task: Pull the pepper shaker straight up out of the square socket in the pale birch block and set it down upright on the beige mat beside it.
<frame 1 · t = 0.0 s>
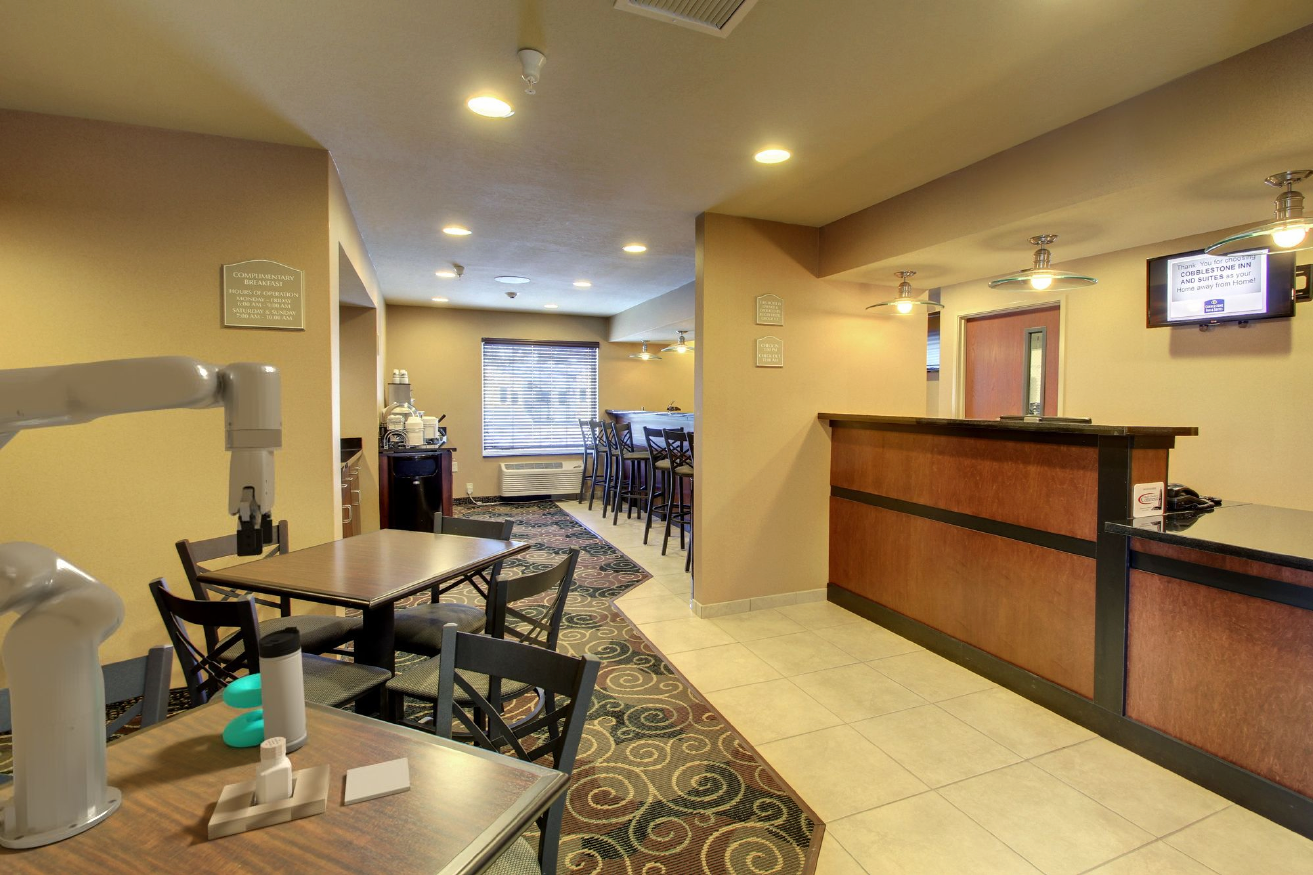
hand: (255, 549, 96), 37 cm above the table, tool pointing down, fingers open, 9 cm apart
socket block: (274, 805, 90), on the table
travel mug: (287, 746, 106), on the table
donuts: (256, 736, 110), on the table
beige mat: (378, 781, 96), on the table
pepper shaker: (274, 806, 90), resting in socket block
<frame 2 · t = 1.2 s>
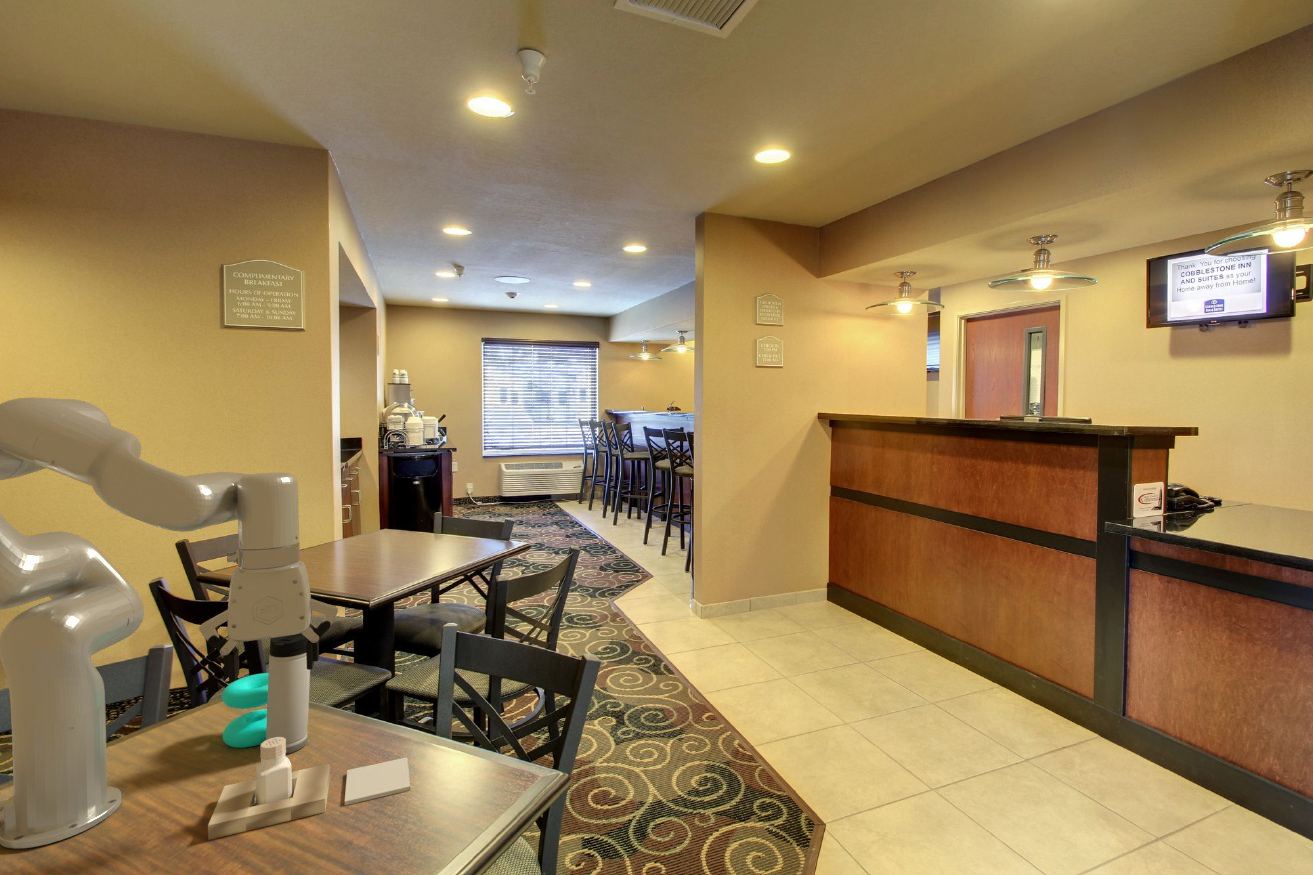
hand: (273, 672, 89), 20 cm above the table, tool pointing down, fingers open, 9 cm apart
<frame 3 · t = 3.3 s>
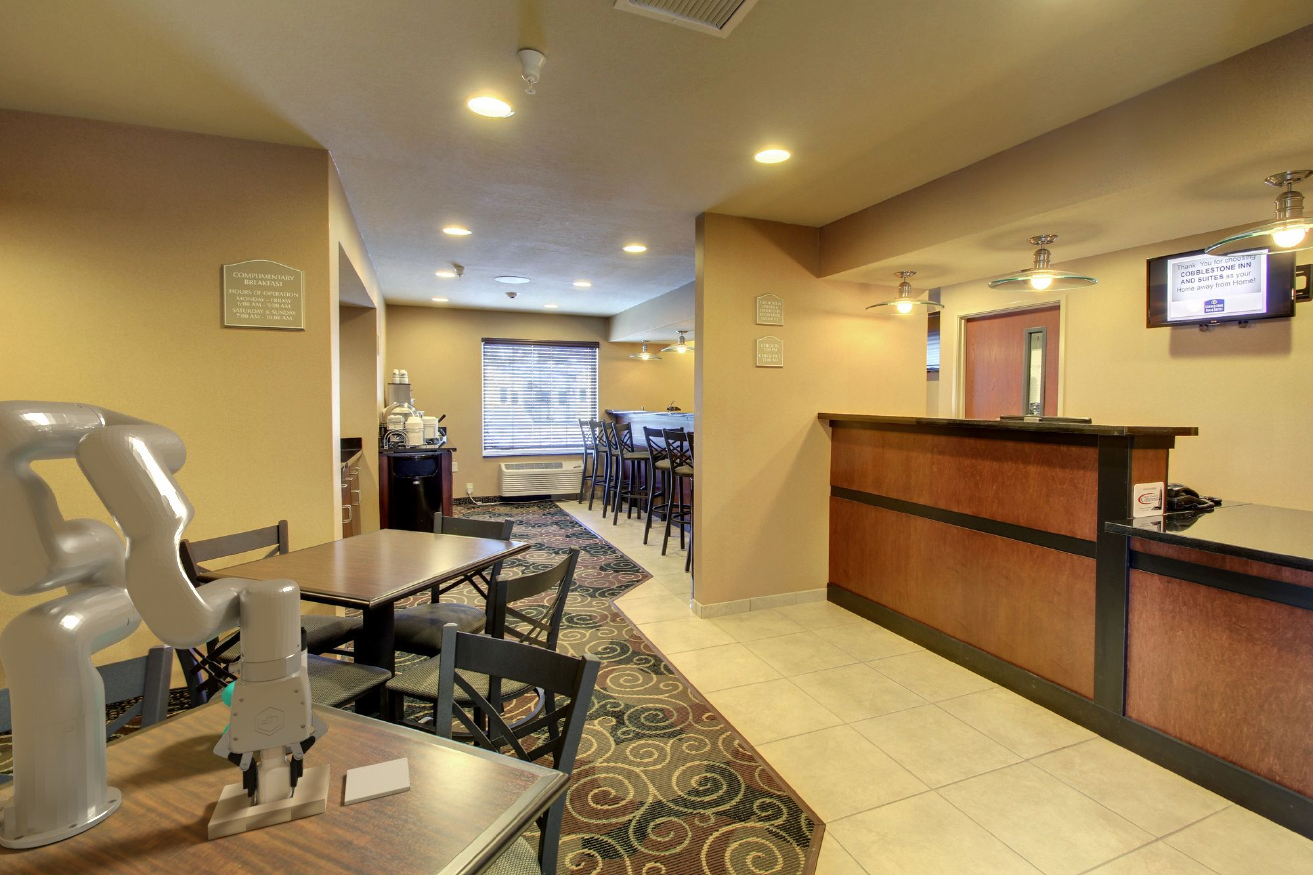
hand: (274, 785, 90), 3 cm above the table, tool pointing down, fingers closed on pepper shaker, 4 cm apart
pepper shaker: (274, 806, 90), resting in socket block, touching gripper
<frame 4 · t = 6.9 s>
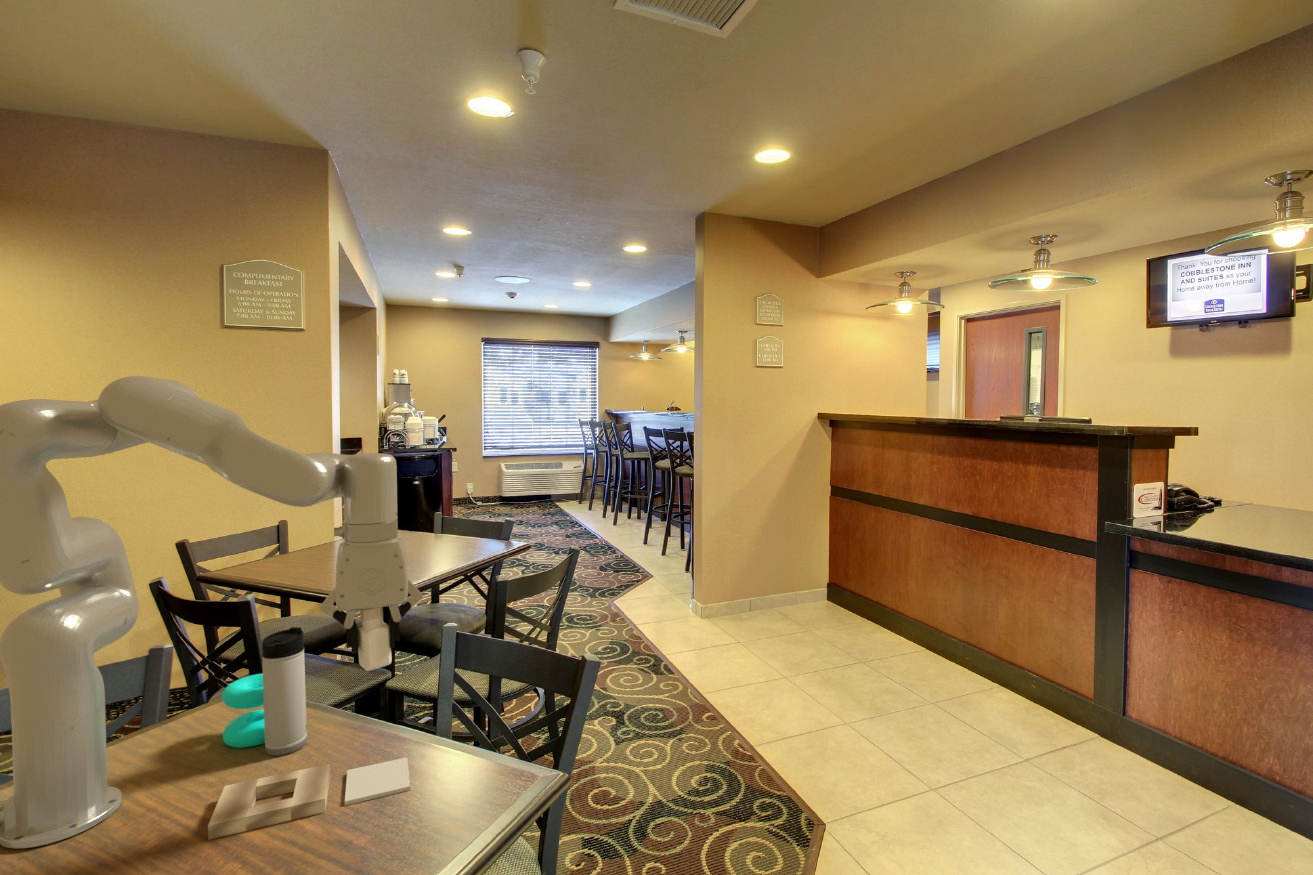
hand: (373, 646, 95), 22 cm above the table, tool pointing down, fingers closed on pepper shaker, 4 cm apart
pepper shaker: (375, 666, 95), point 18 cm above the table, touching gripper
everything else where it was.
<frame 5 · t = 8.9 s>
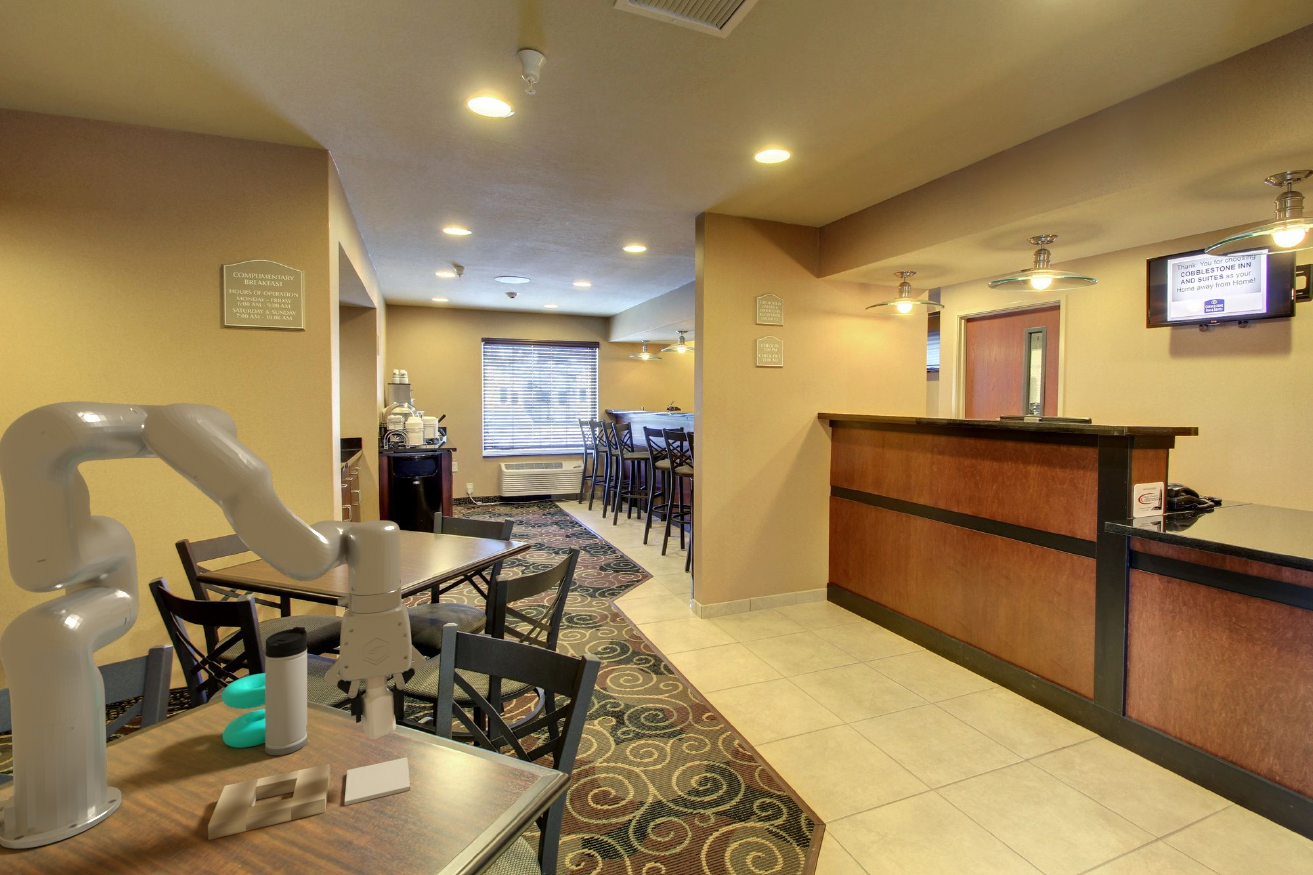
hand: (377, 714, 96), 11 cm above the table, tool pointing down, fingers closed on pepper shaker, 4 cm apart
pepper shaker: (380, 733, 96), point 8 cm above the table, touching gripper
everything else where it was.
when the fingers open (5 cm above the table, at t = 10.5 s): pepper shaker drops 1 cm, resting on beige mat.
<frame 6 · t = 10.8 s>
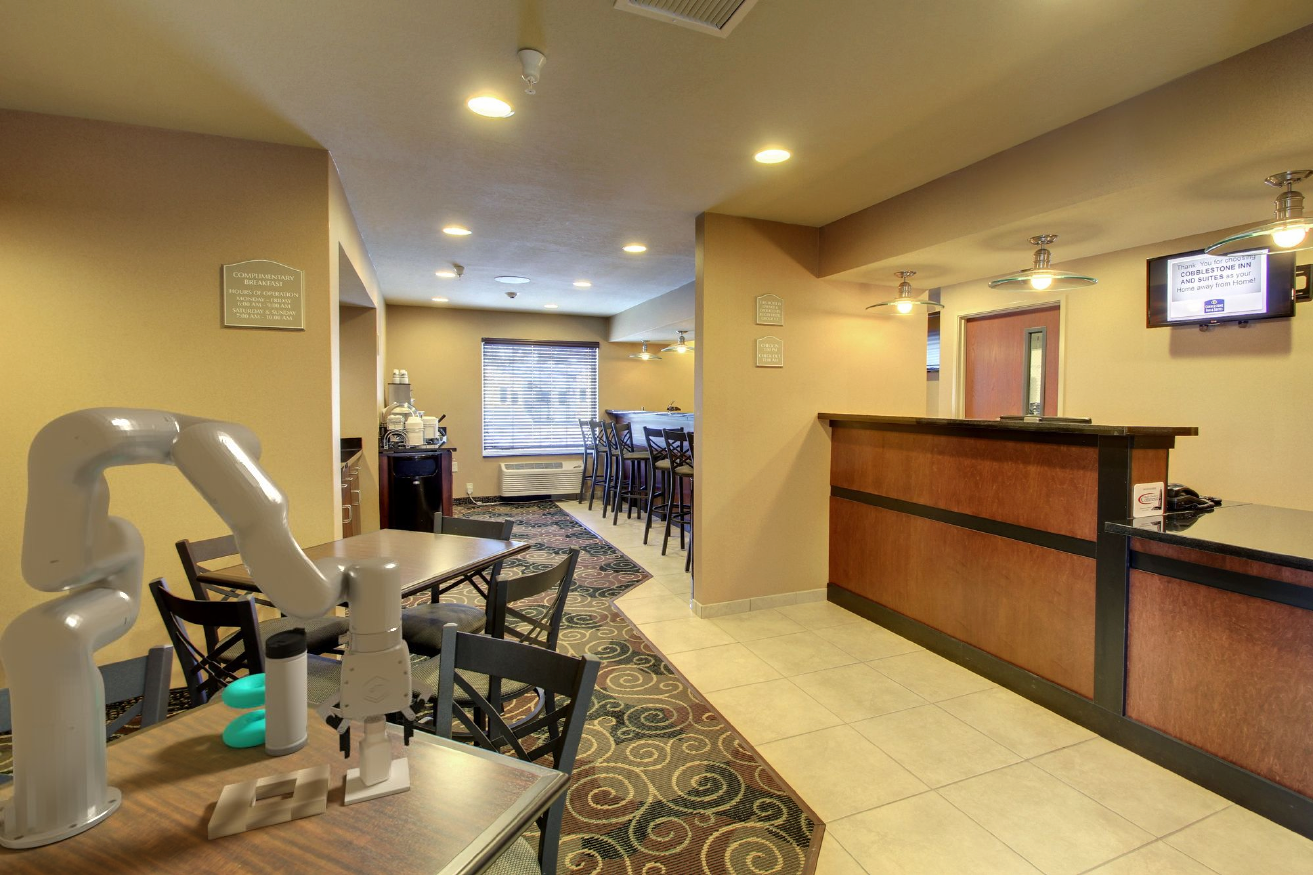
hand: (377, 747, 96), 5 cm above the table, tool pointing down, fingers open, 8 cm apart
pepper shaker: (375, 779, 96), resting on beige mat
everything else where it was.
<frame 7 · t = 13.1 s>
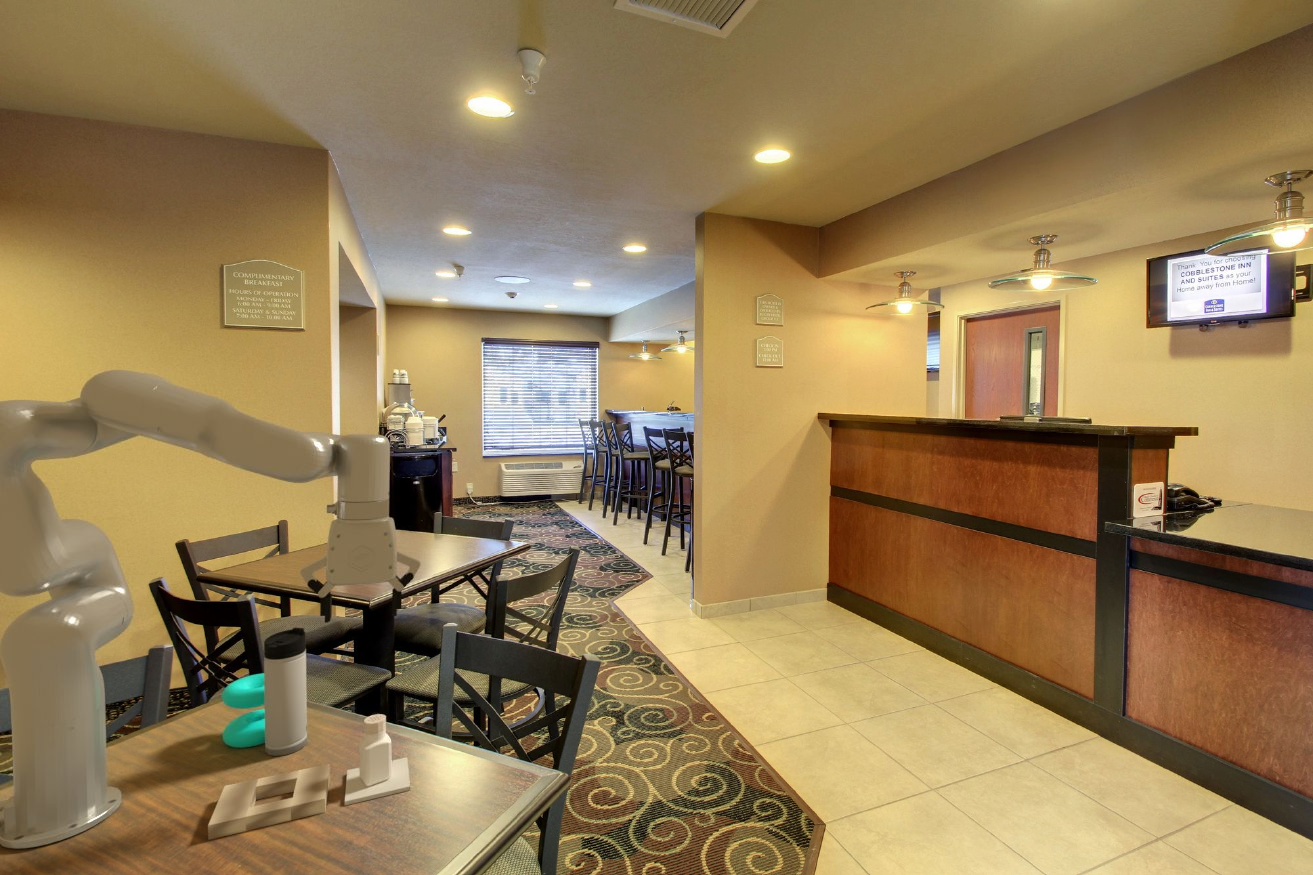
hand: (361, 616, 98), 25 cm above the table, tool pointing down, fingers open, 9 cm apart
nothing on the table moved.
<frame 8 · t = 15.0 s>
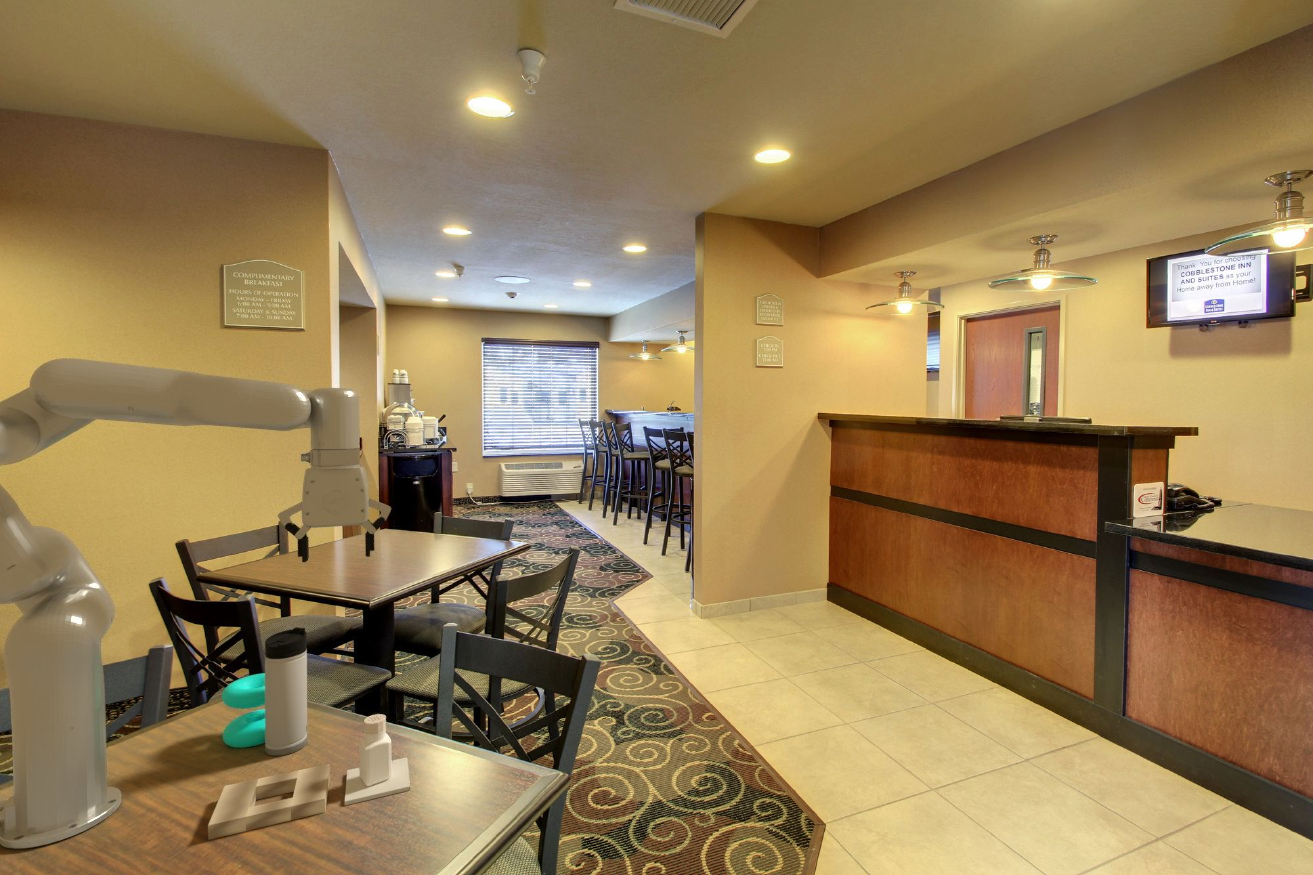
hand: (337, 558, 105), 33 cm above the table, tool pointing down, fingers open, 9 cm apart
nothing on the table moved.
at the end: pepper shaker 0.3 cm off-centre on the beige mat, point 0.4 cm above the beige mat's base; pepper shaker tilted 0°; the gripper is holding nothing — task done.
